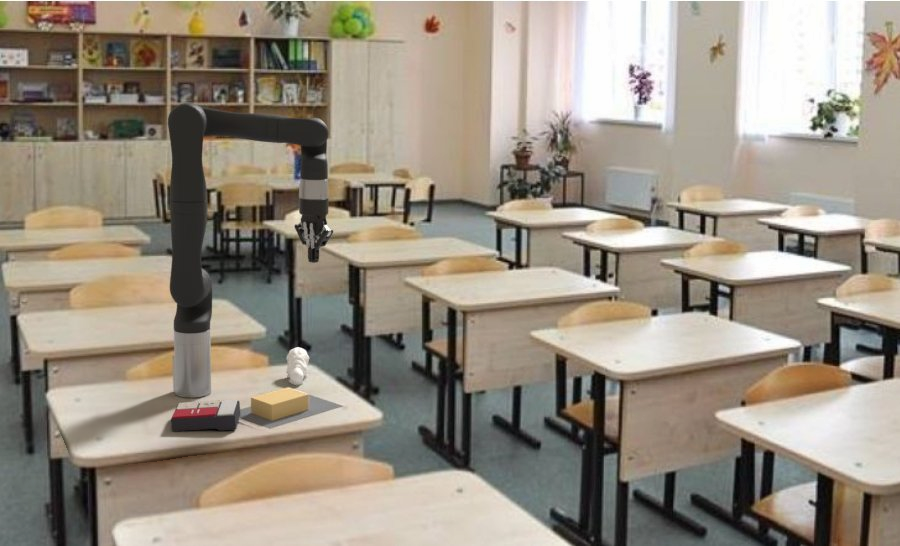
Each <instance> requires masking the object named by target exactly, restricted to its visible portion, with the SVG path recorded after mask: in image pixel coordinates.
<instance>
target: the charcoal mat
mask: <svg viewBox="0 0 900 546" xmlns="http://www.w3.org/2000/svg"><path fill="white" fill-rule="evenodd" d="M342 407H343V405H342V404H339V403H335V402H333V401H330V400H327V399H324V398H320V397H318V396H316V395H315V396H314V395H312V394H309V410H306V411H302V412H299V413H296V414H292V415H289V416H286V417H282V418H279V419H276V420H269V419H266V418H264V417H261V416H258V415H255V414H253V413H251V405H250V406H247V407H244V408H240V417H239V419H240V418H241V419H243V420H246V421H249V422H250V423H254V424H257V425H259V426H262V427H265V428H266V429H267V428H268V429H273V428H276V427H279V426H283V425H286V424H290V423H293V422H296V421H299V420H303V419H306V418H309V417H312V416H315V415H319V414H322V413H326V412H329V411H331V410H335V409H339V408H342Z"/></svg>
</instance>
